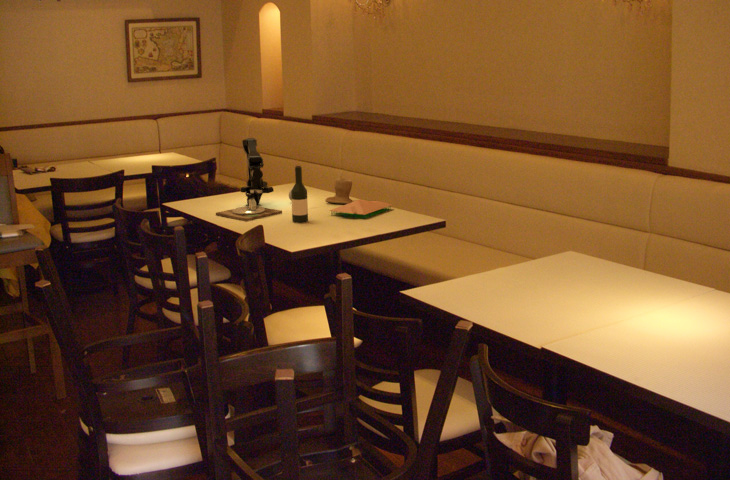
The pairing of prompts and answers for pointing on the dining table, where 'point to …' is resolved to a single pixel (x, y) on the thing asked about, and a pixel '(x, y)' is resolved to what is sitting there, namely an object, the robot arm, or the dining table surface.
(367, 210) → the house
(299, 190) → the wine bottle
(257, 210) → the dial
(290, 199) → the donut
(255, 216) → the board
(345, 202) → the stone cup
